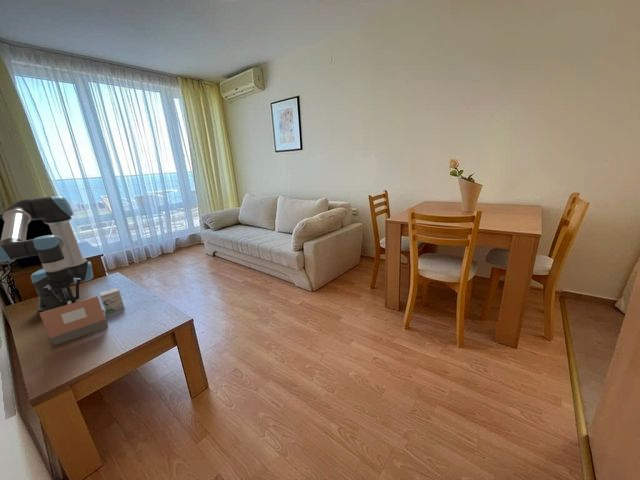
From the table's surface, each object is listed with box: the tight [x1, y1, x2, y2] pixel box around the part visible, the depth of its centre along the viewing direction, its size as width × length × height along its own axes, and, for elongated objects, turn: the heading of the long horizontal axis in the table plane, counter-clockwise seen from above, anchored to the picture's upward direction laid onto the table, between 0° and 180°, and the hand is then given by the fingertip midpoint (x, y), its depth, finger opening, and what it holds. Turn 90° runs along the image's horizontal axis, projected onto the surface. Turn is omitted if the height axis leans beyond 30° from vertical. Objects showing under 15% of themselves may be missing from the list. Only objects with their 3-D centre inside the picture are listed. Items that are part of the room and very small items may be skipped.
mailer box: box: [50, 309, 109, 347], centre depth 129 cm, size 13×20×4 cm, turn 133°
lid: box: [39, 295, 105, 339], centre depth 121 cm, size 13×20×1 cm
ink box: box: [99, 287, 125, 314], centre depth 146 cm, size 8×5×12 cm, turn 135°
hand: (74, 313), depth 123 cm, fingers closed
